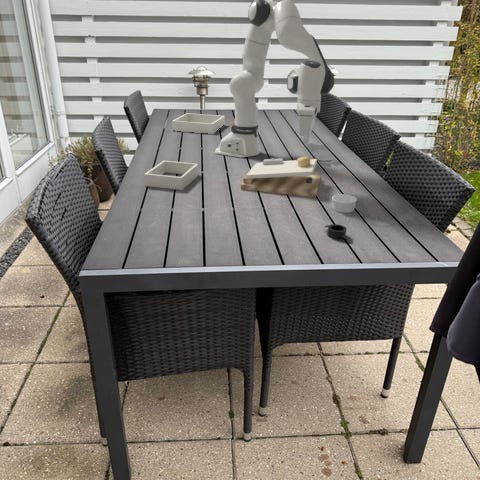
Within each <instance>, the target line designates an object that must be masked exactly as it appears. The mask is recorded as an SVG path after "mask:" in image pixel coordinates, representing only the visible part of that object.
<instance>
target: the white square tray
mask: <svg viewBox="0 0 480 480" xmlns="http://www.w3.org/2000/svg"><path fill="white" fill-rule="evenodd" d="M225 117H226V116H225V115H218V114H205V113H204V114H201V113H191V112H190V113H188V112H187V113H184V114H183V115H181V116H179V117H177V118H174V119H173V120H172V121H171V125H172V126H171V128H172V129H171V130H175V131H174V132H177V131H181V133H189V132H194V133H193V134H201V133H208V134H207V135H214V134H216V133H217V132H218V131H219V130H220V129H219V128H221V127H222V126H223V125H224V124H225V122H226V118H225ZM223 127H224V126H223ZM223 127H222V128H223ZM222 128H221V129H222ZM218 129H219V130H218ZM217 130H218V131H217ZM216 131H217V132H216ZM213 133H214V134H213Z"/></svg>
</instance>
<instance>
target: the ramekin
mask: <svg viewBox="0 0 480 480" xmlns="http://www.w3.org/2000/svg"><path fill="white" fill-rule="evenodd" d="M357 201H358V198H357V197H355V196H353V195H351V194H343V193H340V194H339V193H338V194H334V195H332V197H331V204H332V205H331V206H332V210H333V211H335V212H338V213H343V214H347V213H352V212H354V211H355V208H356V204H357Z"/></svg>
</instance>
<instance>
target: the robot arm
mask: <svg viewBox="0 0 480 480" xmlns="http://www.w3.org/2000/svg"><path fill="white" fill-rule="evenodd" d="M247 13H248V15H247V16H248V17H247V18H248V20H249V22H250V25H249V27H248V29H247V33H246V36H245V41H244V44H243V50H242V53H241V54H242V55H241V58H242V71H241V72H239V73H237V74H236V75H234V76H233V77H232V78H231V79H230V81H229V87H228V88H229V91H230V93H231V95H232V97H233V103H234V111H235V112H234V115H235V116H234V123H232V124H231V126H230V132H229V133H227V134H226V135H225V136H223V138H221V140H220V142H219V146H218V147H216V148H215V151H214V153H215V154H216V155H221V156H227V155H228V157H235V158H246V157H254V156H258V155H259V154H260V149H259V140H258V136H259V124H258V119H259V118H258V117H259V108H258V106H257V103H256V94H258V93H259V92H260V91H261V90H262V88H263V87H264V85H265V78H264V76H265V65H266V58H267V56H268V51H269V48H270V44H271V39H272V35H273V33H274V32H275V34H276V37H277V41H278V42H279V44H280V45H281V46H282V47H284V48H285V49H286V50H291V51H295V52H297V53H300V54H303V55H305V56H306V57H307V58H308V60H305V61H303V62H301V63H300V66H298V68H294V69H292V70H291V71H290V72H289V73H288V75H287V77H286V78H287V79H286V88H287V90H288V91H289V92H290V94H292V95H297V101H296V102H297V105H296V112H297V116H298V132H299V133H298V134H299V137H303V144H306V145H307V144H309V141H310V135H311V132H312V130H313V129H314V126H315V118H316V117H317V114H318V113H320V112H321V101H322V96H327V94H329V93H330V92H331V91H332V90H333V89H334V86H335V75H334V73H333V72H332V70H331V69H330V68H329V66H328V63H327V62H326V60H325V58H324V55H323V52H322V51H321V48H320V46H319V44H318V41H317V40H316V38H315V37H314V36H313V35H312V34H310V33H309V32H308V30H307V29H306V28H305V26H304V24H303V21H302V17H301V14H300V12H299V10H298V8H297V5H296V4H295V2H293V1H292V0H281V1H274V0H253V1H252V2H251V3H250V5H249V8H248V12H247Z"/></svg>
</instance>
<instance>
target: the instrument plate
mask: <svg viewBox="0 0 480 480" xmlns="http://www.w3.org/2000/svg"><path fill="white" fill-rule="evenodd" d="M317 163H318V161H317V158H313V159H312V158H311V156H310V157H309V156H300V157H298V158H297V159H295V160H284V159H283V158H282V157H281V158H280V157H279V158H267V159H263V160H262V162H255V164H254V165H253V166H252V167H253V168H252V167H251V168H252V169H251V168H250V170H249V171H248V172H249V173H248V172H247V173H248V174H247V173H246V175H247V179H251V178H270V177H289V176H308V175H314V174H313V173H314V171H315V168H316V166H317Z"/></svg>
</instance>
